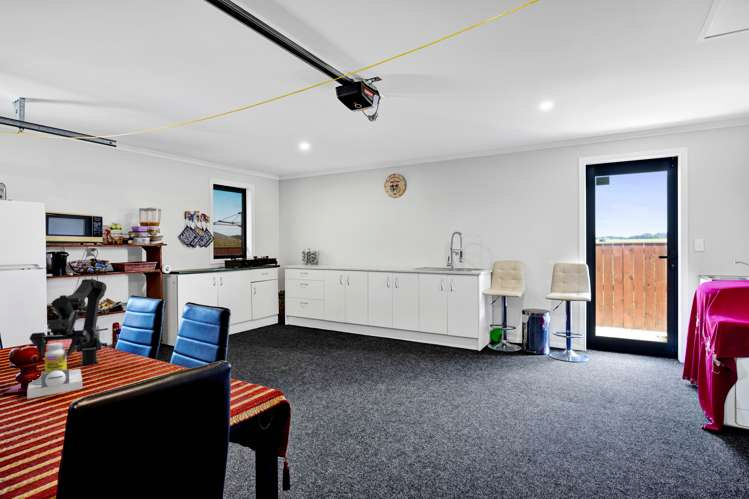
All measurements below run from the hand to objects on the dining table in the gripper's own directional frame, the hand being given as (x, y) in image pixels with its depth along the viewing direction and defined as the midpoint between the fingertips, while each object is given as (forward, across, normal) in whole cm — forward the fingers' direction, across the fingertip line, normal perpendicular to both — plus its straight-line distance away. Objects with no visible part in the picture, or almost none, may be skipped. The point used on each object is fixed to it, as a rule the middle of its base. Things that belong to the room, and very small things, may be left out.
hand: (53, 356), depth 155 cm
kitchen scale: (+8, 0, +10) cm, 12 cm away
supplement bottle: (+5, 0, +7) cm, 9 cm away
